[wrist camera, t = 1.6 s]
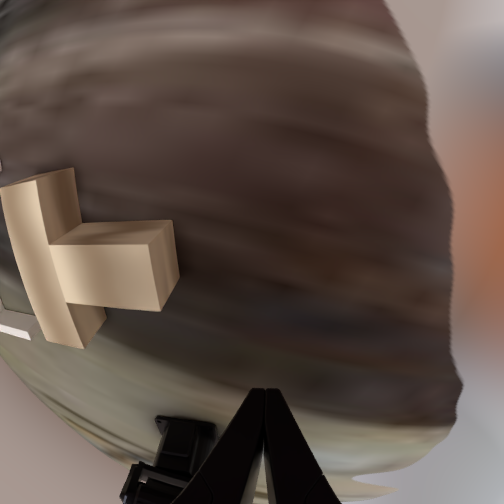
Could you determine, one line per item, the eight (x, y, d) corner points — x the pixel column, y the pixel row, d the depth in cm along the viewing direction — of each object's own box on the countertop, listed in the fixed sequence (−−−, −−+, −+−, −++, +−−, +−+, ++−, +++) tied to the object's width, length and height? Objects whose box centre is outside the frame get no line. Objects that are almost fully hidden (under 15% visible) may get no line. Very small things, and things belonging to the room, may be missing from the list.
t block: (166, 155, 16) (137, 164, 13) (187, 325, 21) (173, 362, 17) (36, 174, 17) (-1, 188, 13) (70, 313, 22) (47, 340, 18)
